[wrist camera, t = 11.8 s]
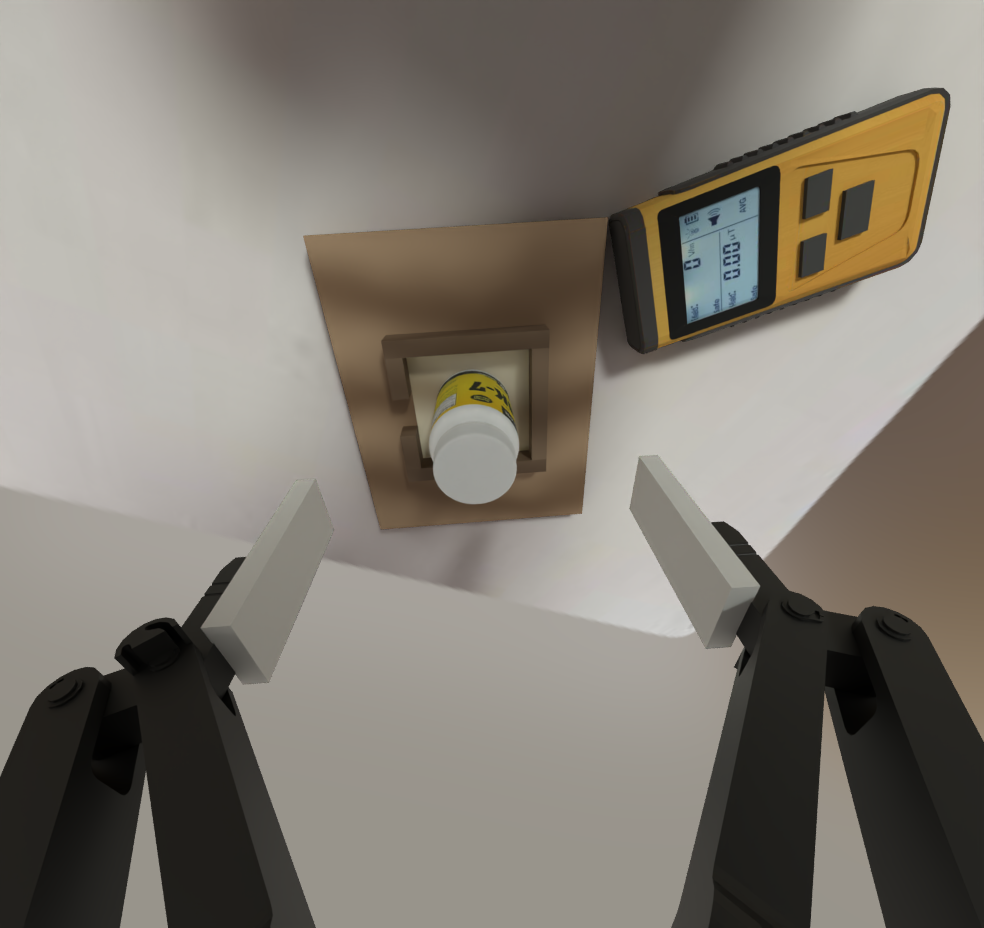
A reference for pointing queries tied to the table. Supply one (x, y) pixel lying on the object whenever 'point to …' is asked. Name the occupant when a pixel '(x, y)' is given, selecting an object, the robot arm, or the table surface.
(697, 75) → the table surface
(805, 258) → the electronic device
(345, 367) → the board
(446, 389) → the supplement bottle
